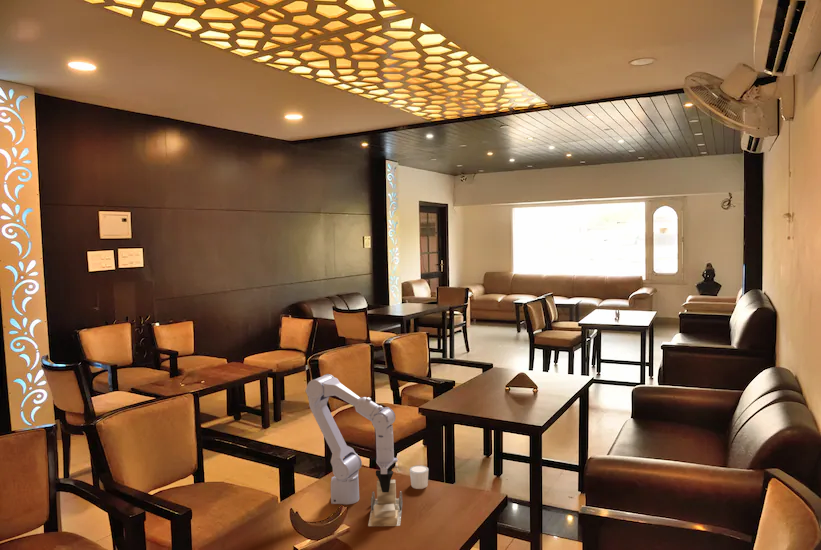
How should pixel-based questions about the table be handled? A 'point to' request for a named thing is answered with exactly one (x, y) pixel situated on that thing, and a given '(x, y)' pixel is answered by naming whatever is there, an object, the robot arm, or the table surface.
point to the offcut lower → (384, 519)
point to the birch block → (386, 494)
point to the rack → (374, 502)
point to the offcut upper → (384, 511)
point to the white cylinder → (419, 476)
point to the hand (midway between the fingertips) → (386, 486)
